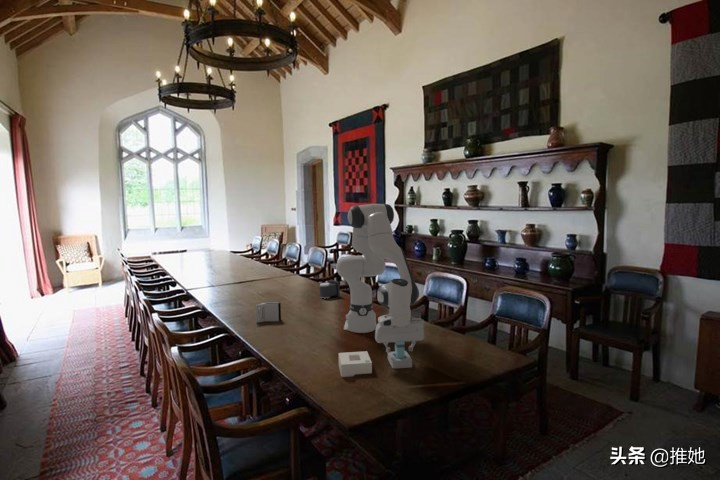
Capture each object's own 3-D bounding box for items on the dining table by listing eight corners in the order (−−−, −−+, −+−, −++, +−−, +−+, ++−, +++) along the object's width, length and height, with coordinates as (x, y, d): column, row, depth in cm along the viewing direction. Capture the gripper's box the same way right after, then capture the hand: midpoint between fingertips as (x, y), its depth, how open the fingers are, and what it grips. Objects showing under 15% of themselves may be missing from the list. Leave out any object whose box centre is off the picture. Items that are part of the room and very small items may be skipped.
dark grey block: (316, 298, 284) (315, 282, 282) (331, 294, 292) (330, 279, 291) (325, 301, 276) (324, 285, 274) (341, 296, 284) (340, 281, 282)
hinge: (255, 323, 226) (255, 305, 225) (255, 320, 231) (255, 303, 230) (281, 321, 229) (280, 303, 228) (280, 318, 234) (280, 301, 233)
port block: (338, 364, 169) (338, 352, 168) (367, 362, 171) (367, 350, 170) (341, 377, 157) (341, 364, 157) (371, 375, 159) (371, 362, 158)
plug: (394, 360, 170) (394, 337, 169) (401, 360, 171) (402, 337, 170) (397, 365, 166) (397, 341, 165) (404, 364, 166) (404, 341, 165)
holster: (387, 360, 173) (387, 351, 172) (405, 359, 174) (405, 350, 174) (392, 370, 163) (392, 361, 163) (412, 369, 164) (412, 359, 164)
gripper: (422, 315, 171) (421, 347, 172) (374, 317, 168) (374, 350, 170) (426, 319, 165) (426, 352, 166) (376, 322, 162) (377, 355, 163)
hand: (399, 351), depth 168 cm, fingers open, 8 cm apart
